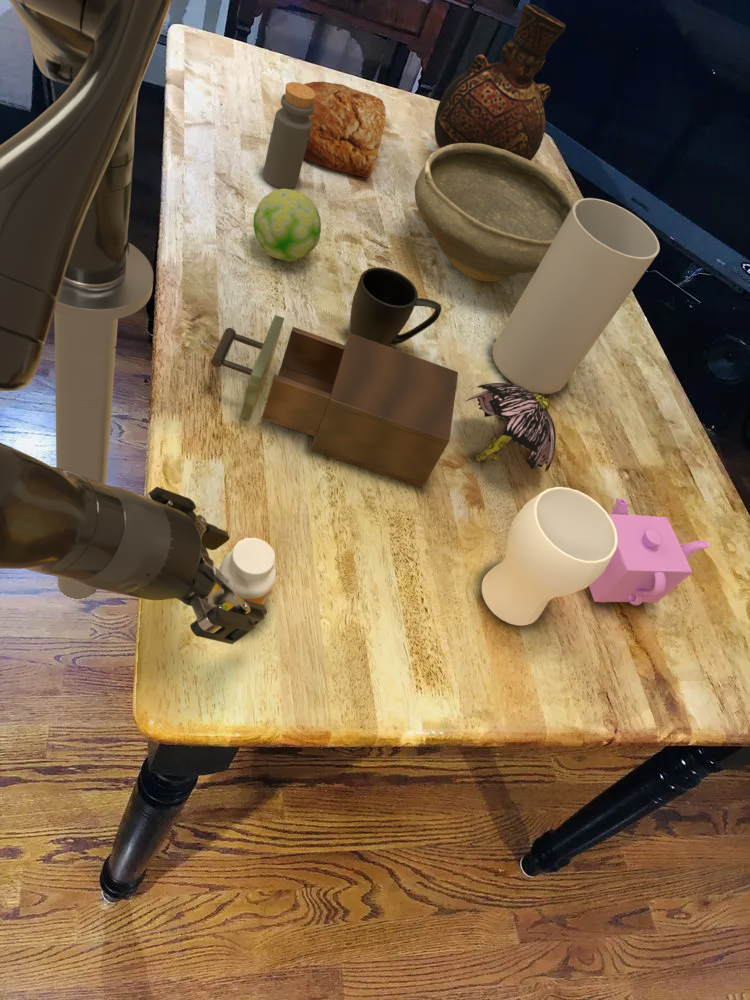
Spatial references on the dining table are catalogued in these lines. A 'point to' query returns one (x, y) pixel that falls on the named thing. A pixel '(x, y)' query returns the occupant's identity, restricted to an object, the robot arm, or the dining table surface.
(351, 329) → the mug
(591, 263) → the cylinder vase
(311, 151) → the bread
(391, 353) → the cabinet
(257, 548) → the supplement bottle
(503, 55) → the ceramic vessel
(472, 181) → the bowl
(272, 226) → the decorative ball
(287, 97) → the bottle
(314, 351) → the drawer
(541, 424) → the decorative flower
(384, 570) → the dining table surface
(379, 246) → the dining table surface
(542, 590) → the cup
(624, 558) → the teapot
